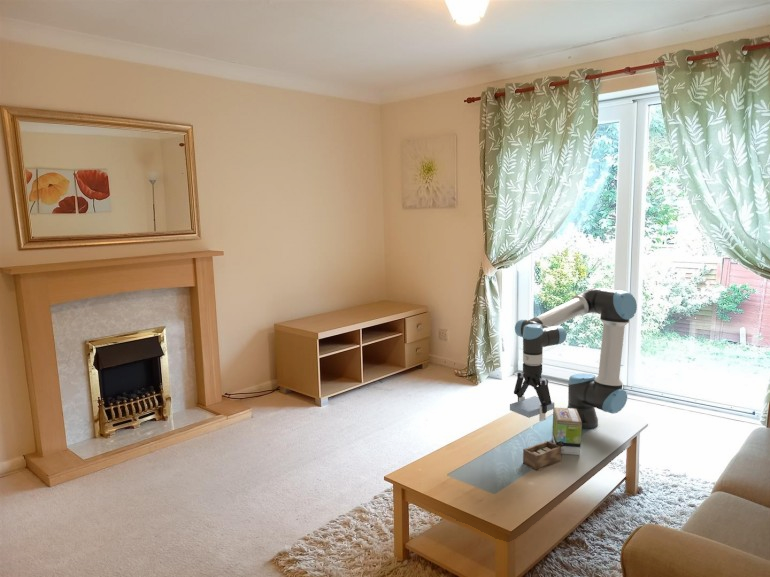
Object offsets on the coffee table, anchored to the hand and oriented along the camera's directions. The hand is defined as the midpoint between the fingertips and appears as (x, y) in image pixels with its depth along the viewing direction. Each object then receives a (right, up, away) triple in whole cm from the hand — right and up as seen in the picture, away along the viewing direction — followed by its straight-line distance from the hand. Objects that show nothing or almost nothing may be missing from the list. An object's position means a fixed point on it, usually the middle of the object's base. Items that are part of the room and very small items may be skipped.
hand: (531, 416), depth 214 cm
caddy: (+3, -18, -2) cm, 18 cm away
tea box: (+17, -16, +11) cm, 26 cm away
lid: (0, +3, 0) cm, 3 cm away
